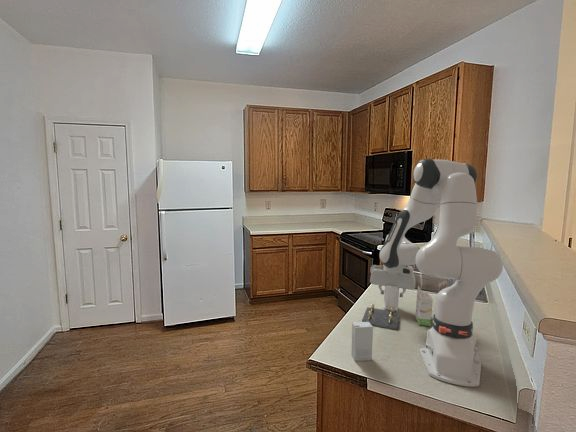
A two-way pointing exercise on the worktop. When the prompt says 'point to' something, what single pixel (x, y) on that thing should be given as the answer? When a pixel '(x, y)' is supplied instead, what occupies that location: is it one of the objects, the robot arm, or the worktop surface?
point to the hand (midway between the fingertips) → (391, 295)
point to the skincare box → (362, 341)
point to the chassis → (381, 317)
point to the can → (391, 297)
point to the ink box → (423, 308)
